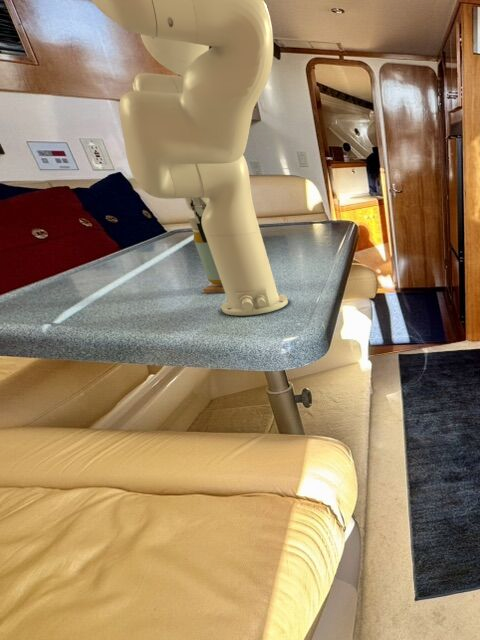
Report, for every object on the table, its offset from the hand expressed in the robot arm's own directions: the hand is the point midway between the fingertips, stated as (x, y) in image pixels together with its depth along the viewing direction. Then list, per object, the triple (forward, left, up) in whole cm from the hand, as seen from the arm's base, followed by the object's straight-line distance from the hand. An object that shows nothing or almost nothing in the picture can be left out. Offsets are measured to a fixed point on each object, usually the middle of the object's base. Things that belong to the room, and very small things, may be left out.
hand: (211, 238), depth 94 cm
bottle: (0, 0, -10) cm, 10 cm away
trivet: (0, 0, -12) cm, 12 cm away
